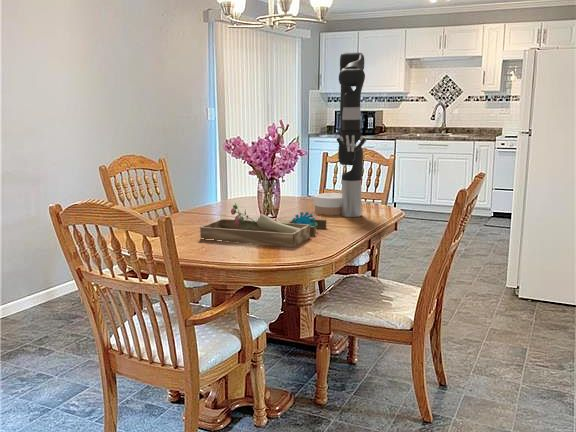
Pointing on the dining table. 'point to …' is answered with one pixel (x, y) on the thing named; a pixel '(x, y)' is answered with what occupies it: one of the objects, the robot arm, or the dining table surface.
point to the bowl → (328, 203)
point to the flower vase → (263, 222)
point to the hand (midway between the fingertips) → (351, 160)
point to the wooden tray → (254, 233)
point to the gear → (305, 219)
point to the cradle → (320, 224)
